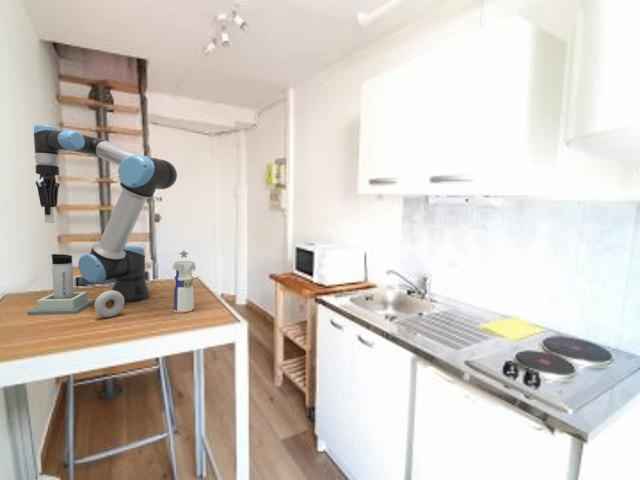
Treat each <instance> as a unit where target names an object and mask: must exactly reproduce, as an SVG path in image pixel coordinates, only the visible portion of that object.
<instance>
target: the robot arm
mask: <svg viewBox="0 0 640 480" xmlns="http://www.w3.org/2000/svg"><path fill="white" fill-rule="evenodd" d="M33 141H34V142H33V145H34V160H35V162H34V163H35V164H36V165H35V166H34V167H35V173H36V174H37V175H39V180H37V181H36V180H35V186H36V188H37V195H38V197H39V203H40V207H41V208H44V210H43V211H44V223H45V224H55V208H57V207H58V201H59V200H58V198H59V188H60V185H61V184H60V182H57V179H56V176H60V167H59V165H60V159H59V158H60V157H59V156H60V155H59V151H69V152H74V153H79V154H87V155H91V156H95V157H97V158H100V159H103V160H105V161H107V162H109V163H113V164H115V165H117V166H118V168H117V173H118V174H119V175H118V179H119V181H120V183H119V185H120V188H121V192H120V194H119V196H118V199H117V201H116V204H115V207H114V208H113V211H112V213H111V216H109V220H108V222H107V224H106V227H105V228H104V232H103V234H102V236H101V238H100V240H99V241H98V242H96V243H94V244H93V245H92V248H91V249H90V252H89V253H88V252H87V253H84V254H82V255H81V256H79V257H80V258H79V259H78V264H77V265H78V270H79V273H80V275H81V276H82V278H84V280H85V281H87V282H89V283H94V284H95V283H103V282H105V281H109V280H114V282H113V286H112V289H111V290H114V291H118V292H119V293H121V294H122V295H123V297H124V301H125V302H124V303H132V302H133V301H134V302H139V301H143V299H144V300H146V298H147V299H149V297H150V290H149V286H148V284H147V282H146V255H145V249H144V247H141V246H132V245H127V243H128V240H129V239H130V237H131V235H132V232H133V230H134V228H135V226H136V223H137V221H138V218H139V217H140V215H141V212H142V210H143V208H144V205H145V204H146V201H147V200H148V199H149V200H150V199H151V198H153V196H154V195H155V193H156V190H165V189H166V190H167V189H169V188H171V187H172V186H174V185H175V183H176V182H177V177H178V172H177V170H176V169H177V168H175V165H174V164H173V163H171V162H169V161H167V160H164V159H160V158H156V157H151V156H147V155H143V154H142V155H141V154H139V153H136V152H135V151H132V150H129V149H127V148H123V147H121V146H120V145H117V144H113V143H111V142H109V141H108V140H106V139H103V138H100V137H96V136H90V135H86V134H83V133H82V134H81V133H80V132H78V131H76V130H71V129H65V130H58V128H57V127H55V126H53V125H47V124H36V125H34V127H33ZM110 301H112V302H114V300H112V299H110Z"/></svg>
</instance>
